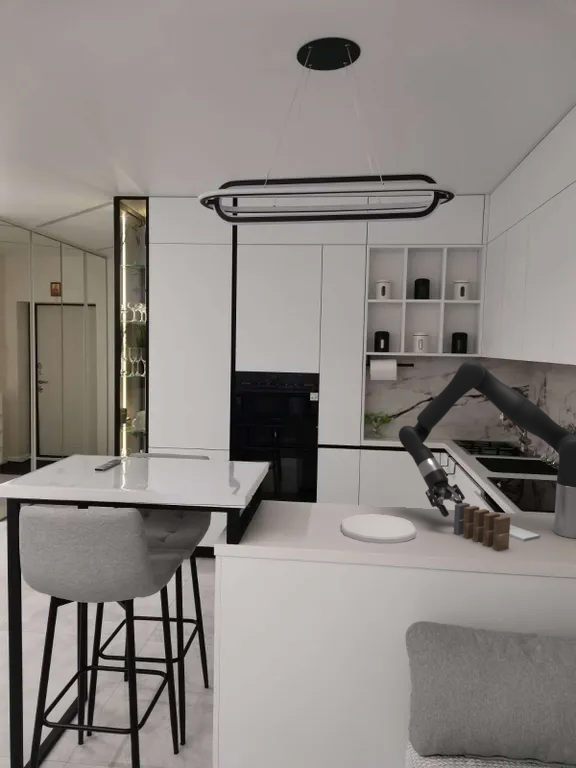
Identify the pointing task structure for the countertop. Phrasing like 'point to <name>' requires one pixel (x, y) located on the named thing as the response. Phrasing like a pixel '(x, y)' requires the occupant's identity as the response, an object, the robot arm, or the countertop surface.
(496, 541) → the domino
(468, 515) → the domino
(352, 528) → the decorative plate
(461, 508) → the domino
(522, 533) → the external hard drive
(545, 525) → the countertop surface
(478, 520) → the domino
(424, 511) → the countertop surface
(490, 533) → the domino
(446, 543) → the countertop surface
